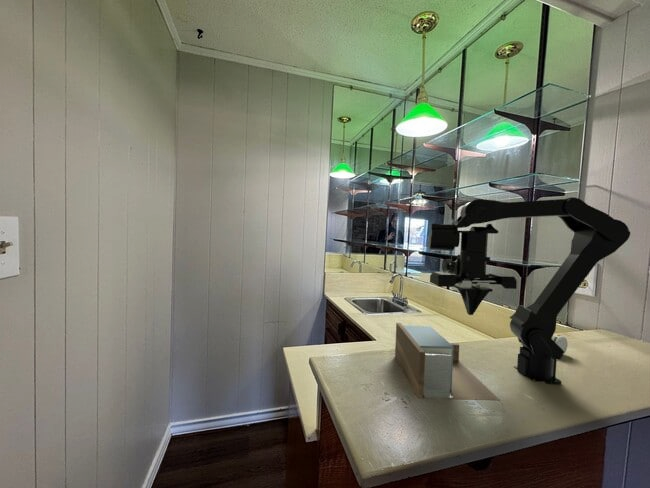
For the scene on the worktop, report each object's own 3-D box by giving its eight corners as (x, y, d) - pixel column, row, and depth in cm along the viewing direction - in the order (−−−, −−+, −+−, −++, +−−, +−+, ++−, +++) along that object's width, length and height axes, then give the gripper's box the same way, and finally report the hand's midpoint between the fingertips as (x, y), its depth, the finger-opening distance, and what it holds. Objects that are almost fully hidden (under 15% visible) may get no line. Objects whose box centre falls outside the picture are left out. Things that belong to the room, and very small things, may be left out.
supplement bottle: (570, 349, 74) (529, 336, 83) (566, 332, 73) (526, 321, 82) (559, 360, 72) (519, 345, 82) (555, 343, 71) (515, 330, 80)
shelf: (456, 360, 68) (458, 324, 68) (500, 403, 51) (502, 354, 51) (394, 359, 68) (396, 322, 68) (417, 400, 51) (420, 352, 51)
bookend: (447, 392, 53) (449, 353, 53) (452, 398, 51) (454, 358, 51) (420, 391, 53) (422, 352, 53) (424, 397, 51) (426, 357, 51)
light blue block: (428, 361, 66) (430, 326, 66) (451, 389, 54) (453, 346, 54) (400, 360, 66) (402, 325, 66) (417, 388, 54) (419, 345, 54)
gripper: (490, 250, 73) (487, 306, 73) (423, 248, 73) (420, 304, 73) (520, 253, 62) (516, 319, 62) (440, 251, 62) (437, 317, 62)
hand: (470, 314), depth 65 cm, fingers closed
